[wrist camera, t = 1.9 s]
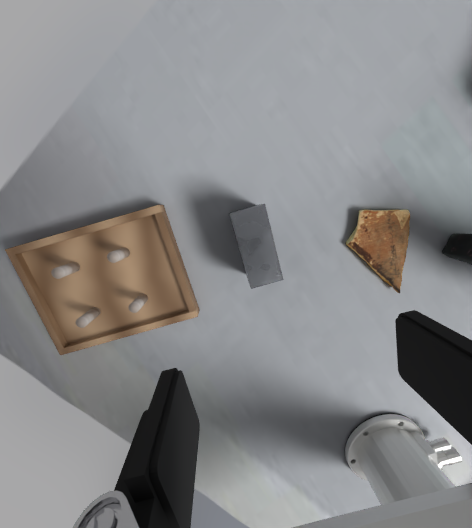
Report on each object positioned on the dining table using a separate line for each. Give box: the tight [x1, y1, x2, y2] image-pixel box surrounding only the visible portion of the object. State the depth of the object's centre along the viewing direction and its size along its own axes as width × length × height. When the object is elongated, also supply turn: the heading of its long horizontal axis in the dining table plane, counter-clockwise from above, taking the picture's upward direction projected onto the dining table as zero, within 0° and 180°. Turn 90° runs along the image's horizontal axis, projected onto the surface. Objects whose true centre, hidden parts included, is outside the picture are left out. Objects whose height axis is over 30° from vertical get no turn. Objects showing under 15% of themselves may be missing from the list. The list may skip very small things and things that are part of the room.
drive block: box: [229, 204, 283, 289], centre depth 26 cm, size 4×8×6 cm, turn 16°
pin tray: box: [5, 205, 199, 355], centre depth 27 cm, size 18×14×4 cm
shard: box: [346, 209, 410, 293], centre depth 30 cm, size 11×8×2 cm
